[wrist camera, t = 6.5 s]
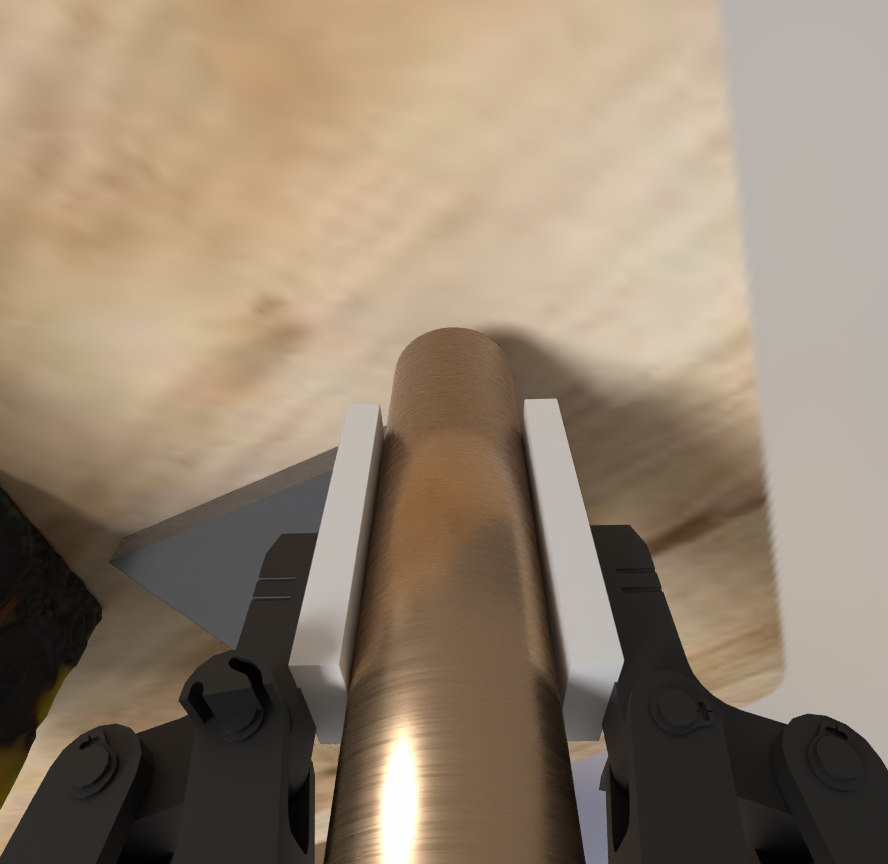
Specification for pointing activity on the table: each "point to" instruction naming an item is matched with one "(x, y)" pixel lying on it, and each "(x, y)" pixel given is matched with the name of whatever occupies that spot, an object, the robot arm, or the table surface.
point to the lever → (453, 637)
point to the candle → (34, 634)
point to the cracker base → (226, 545)
